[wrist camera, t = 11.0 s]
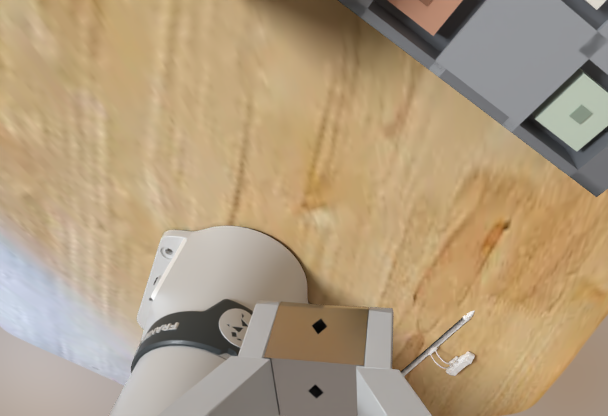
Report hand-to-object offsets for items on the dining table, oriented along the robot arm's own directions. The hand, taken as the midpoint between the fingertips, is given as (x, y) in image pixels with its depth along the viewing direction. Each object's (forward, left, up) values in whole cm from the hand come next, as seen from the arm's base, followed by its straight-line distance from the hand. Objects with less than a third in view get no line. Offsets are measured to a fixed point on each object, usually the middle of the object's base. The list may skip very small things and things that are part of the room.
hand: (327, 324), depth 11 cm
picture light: (-24, -28, -32) cm, 49 cm away
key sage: (+4, -14, -28) cm, 32 cm away
